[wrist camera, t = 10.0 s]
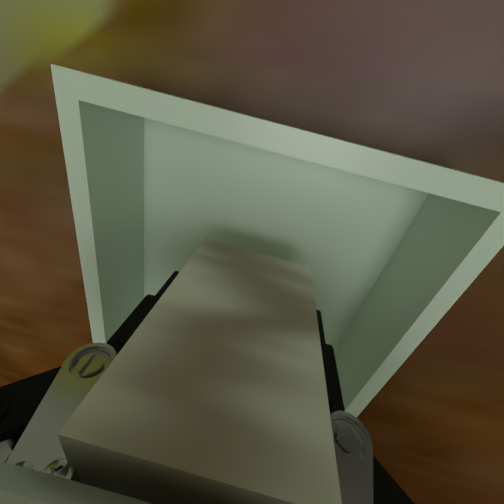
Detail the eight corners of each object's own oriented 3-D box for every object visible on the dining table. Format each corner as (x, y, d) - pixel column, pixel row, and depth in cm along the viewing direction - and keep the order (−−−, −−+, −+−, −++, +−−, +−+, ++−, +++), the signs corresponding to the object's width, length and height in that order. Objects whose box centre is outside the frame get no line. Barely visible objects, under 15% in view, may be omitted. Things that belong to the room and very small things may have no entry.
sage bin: (450, 167, 12) (547, 194, 7) (327, 366, 19) (338, 438, 15) (139, 86, 12) (50, 63, 7) (140, 313, 19) (96, 369, 15)
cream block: (310, 266, 11) (344, 517, 4) (279, 339, 13) (267, 575, 6) (205, 238, 11) (57, 433, 4) (193, 315, 13) (89, 521, 6)
